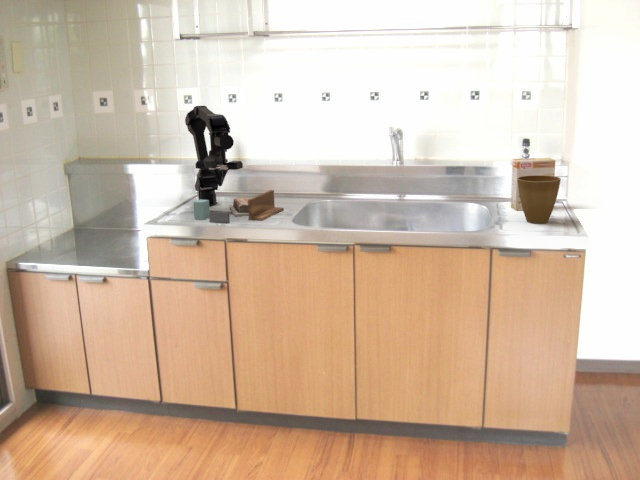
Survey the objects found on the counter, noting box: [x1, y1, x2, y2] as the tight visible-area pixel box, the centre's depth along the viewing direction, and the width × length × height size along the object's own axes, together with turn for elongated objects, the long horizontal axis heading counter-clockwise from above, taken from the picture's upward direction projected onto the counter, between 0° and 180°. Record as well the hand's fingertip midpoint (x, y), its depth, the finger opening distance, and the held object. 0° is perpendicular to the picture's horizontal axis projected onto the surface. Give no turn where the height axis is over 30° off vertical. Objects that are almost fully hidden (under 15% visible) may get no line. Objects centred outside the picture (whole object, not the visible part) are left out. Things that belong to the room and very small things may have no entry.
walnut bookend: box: [248, 189, 284, 222], centre depth 280 cm, size 6×20×8 cm, turn 158°
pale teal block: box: [193, 199, 211, 221], centre depth 276 cm, size 4×5×7 cm
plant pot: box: [517, 175, 562, 224], centre depth 257 cm, size 15×15×16 cm
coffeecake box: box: [510, 157, 556, 211], centre depth 278 cm, size 15×7×20 cm, turn 92°
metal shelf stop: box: [208, 210, 231, 224], centre depth 269 cm, size 8×1×4 cm, turn 69°
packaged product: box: [228, 197, 250, 217], centre depth 288 cm, size 18×5×10 cm
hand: (220, 186), depth 286 cm, fingers closed
